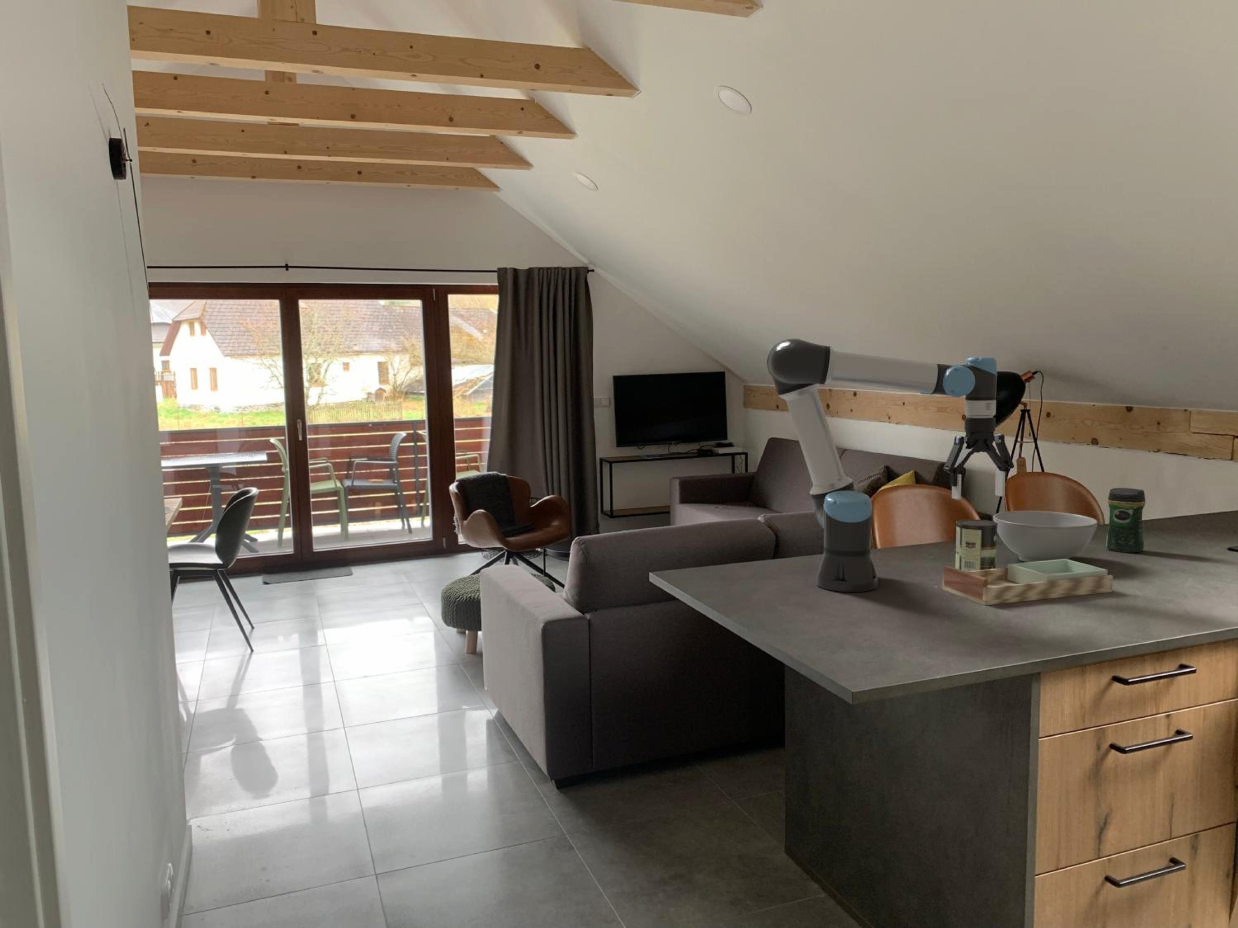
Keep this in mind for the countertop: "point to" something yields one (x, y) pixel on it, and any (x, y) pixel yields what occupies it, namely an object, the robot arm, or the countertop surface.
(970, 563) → the coffee can
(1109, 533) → the coffee jar
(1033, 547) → the decorative bowl
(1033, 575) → the mint green tray
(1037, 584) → the bay
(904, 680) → the countertop surface
